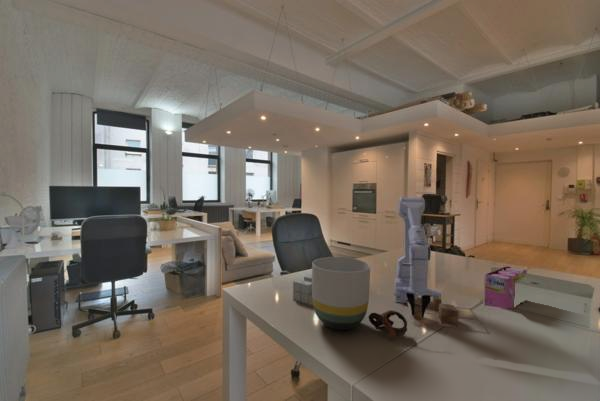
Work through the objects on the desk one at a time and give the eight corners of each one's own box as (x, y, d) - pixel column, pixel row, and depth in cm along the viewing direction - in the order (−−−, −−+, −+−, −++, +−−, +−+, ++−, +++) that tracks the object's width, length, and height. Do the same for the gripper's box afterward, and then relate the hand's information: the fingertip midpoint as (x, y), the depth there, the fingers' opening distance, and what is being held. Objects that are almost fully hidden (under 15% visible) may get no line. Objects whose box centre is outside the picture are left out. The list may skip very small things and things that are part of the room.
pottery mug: (400, 327, 94) (408, 312, 90) (401, 352, 86) (410, 337, 82) (365, 315, 96) (372, 300, 92) (363, 339, 88) (371, 323, 84)
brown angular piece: (415, 324, 94) (415, 308, 94) (412, 314, 102) (413, 300, 101) (458, 330, 90) (459, 314, 90) (453, 320, 98) (453, 305, 97)
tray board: (431, 329, 91) (431, 325, 91) (422, 306, 110) (422, 302, 110) (489, 338, 87) (490, 333, 87) (470, 312, 105) (470, 308, 105)
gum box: (506, 294, 125) (507, 265, 125) (527, 300, 119) (529, 269, 118) (483, 306, 112) (484, 273, 111) (506, 313, 105) (508, 279, 105)
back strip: (435, 315, 101) (435, 301, 101) (431, 307, 108) (432, 294, 108) (476, 321, 97) (477, 306, 97) (470, 312, 104) (470, 298, 104)
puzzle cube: (316, 307, 109) (317, 287, 108) (292, 299, 115) (293, 281, 115) (331, 297, 118) (331, 279, 118) (308, 291, 125) (308, 274, 125)
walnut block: (441, 323, 93) (441, 309, 93) (438, 317, 98) (439, 303, 98) (457, 325, 92) (458, 311, 91) (454, 319, 96) (454, 305, 96)
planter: (331, 346, 81) (333, 275, 80) (301, 318, 98) (302, 259, 97) (381, 332, 90) (382, 267, 89) (345, 308, 107) (346, 254, 106)
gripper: (397, 278, 95) (396, 317, 96) (443, 283, 91) (442, 323, 92) (396, 273, 102) (395, 308, 102) (439, 277, 98) (438, 314, 98)
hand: (417, 315), depth 97 cm, fingers closed on brown angular piece, 2 cm apart
